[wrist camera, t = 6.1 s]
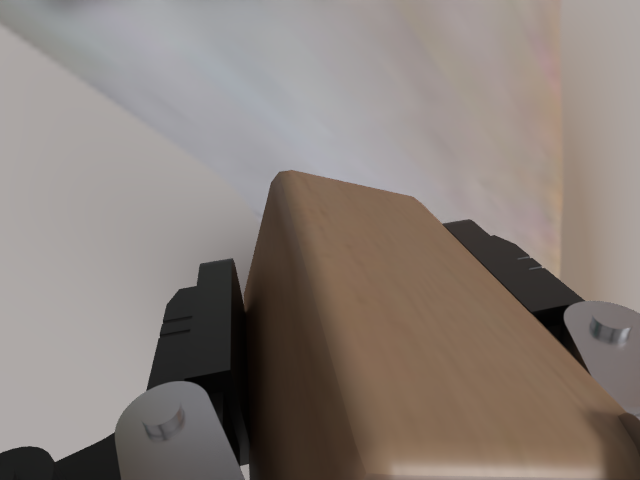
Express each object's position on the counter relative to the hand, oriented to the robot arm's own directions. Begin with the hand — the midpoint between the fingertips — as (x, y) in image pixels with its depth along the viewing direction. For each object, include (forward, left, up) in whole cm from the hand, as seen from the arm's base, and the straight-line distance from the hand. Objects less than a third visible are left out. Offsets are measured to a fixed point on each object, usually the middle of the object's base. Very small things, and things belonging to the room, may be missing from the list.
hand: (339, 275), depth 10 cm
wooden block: (0, 0, -2) cm, 2 cm away
